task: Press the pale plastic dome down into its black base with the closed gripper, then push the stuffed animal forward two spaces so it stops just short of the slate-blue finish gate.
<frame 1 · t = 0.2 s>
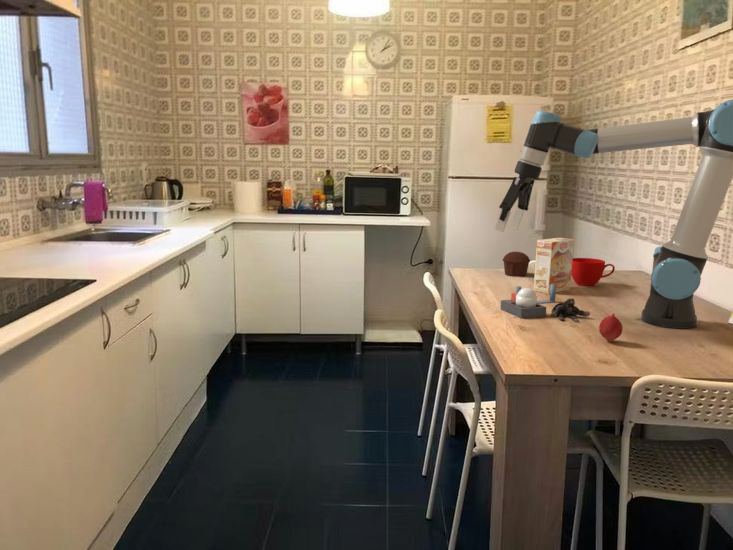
hand: (506, 229, 182), 27 cm above the table, tool tilted 15°, fingers open, 13 cm apart
onion: (609, 342, 157), on the table
ceramic cup: (590, 285, 233), on the table
muffin: (515, 275, 254), on the table
dome base: (522, 312, 187), on the table
coffeecake box: (551, 290, 223), on the table
stuffed animal: (569, 318, 184), on the table
dome: (526, 297, 185), point 5 cm above the table, slide at 0.0 cm
finish gate: (534, 302, 201), on the table
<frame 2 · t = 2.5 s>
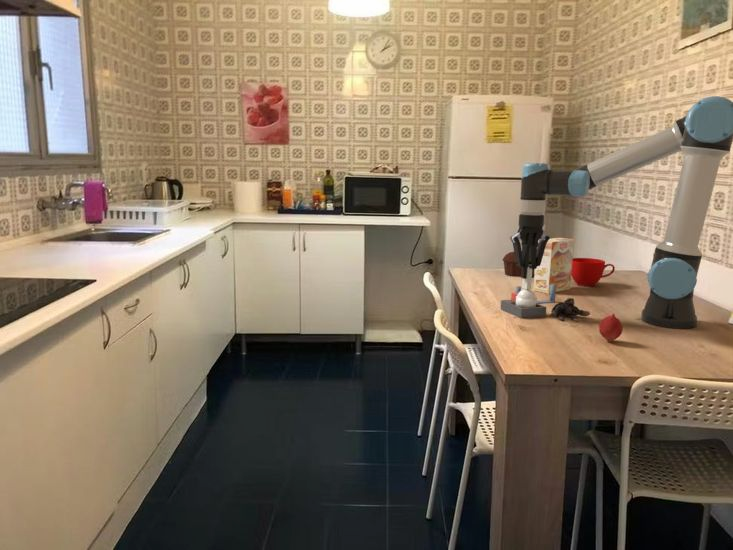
hand: (526, 288, 185), 8 cm above the table, tool pointing down, fingers closed
dome: (526, 298, 185), point 5 cm above the table, slide at 0.4 cm, touching gripper
everything else where it was.
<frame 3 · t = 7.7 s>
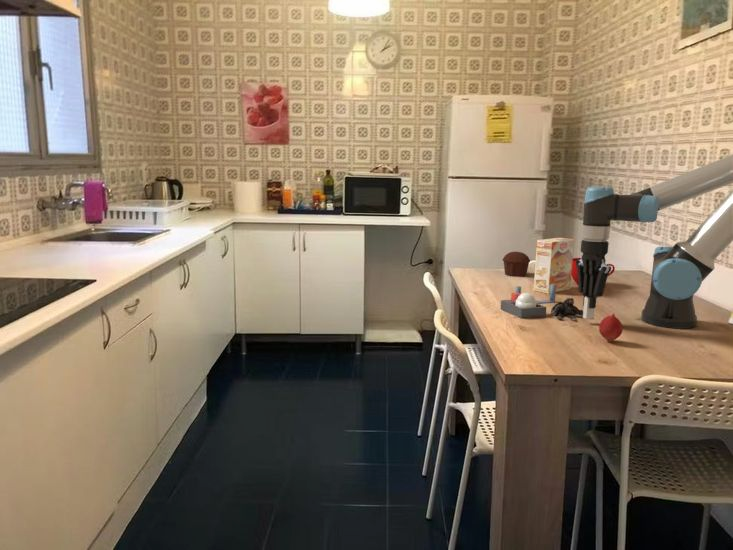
hand: (588, 317, 175), 2 cm above the table, tool pointing down, fingers closed
dome: (526, 302, 185), point 4 cm above the table, slide at 1.6 cm
everything else where it was.
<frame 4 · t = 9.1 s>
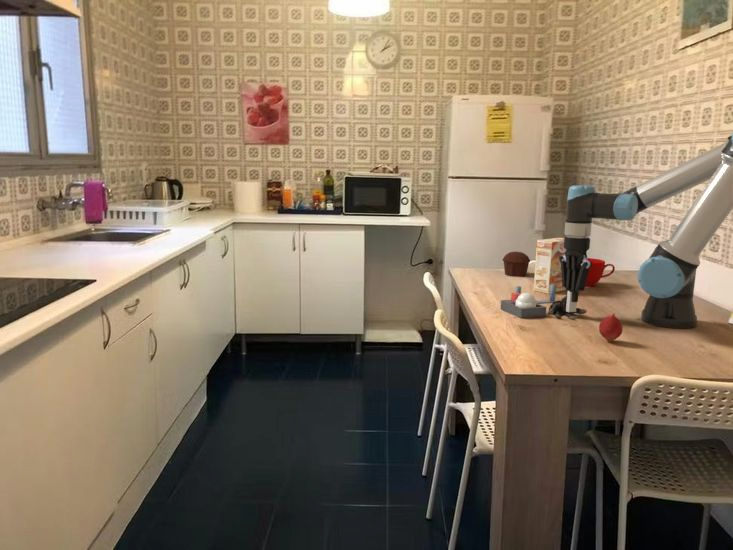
hand: (571, 311, 183), 2 cm above the table, tool pointing down, fingers closed
stuffed animal: (566, 316, 186), on the table
everything else where it was.
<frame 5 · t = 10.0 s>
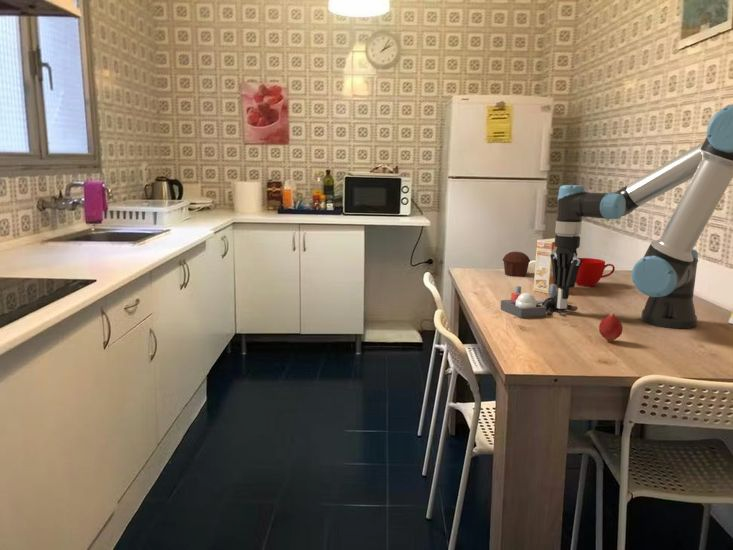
hand: (561, 307, 187), 2 cm above the table, tool pointing down, fingers closed
stuffed animal: (558, 312, 191), on the table, touching gripper
everything else where it was.
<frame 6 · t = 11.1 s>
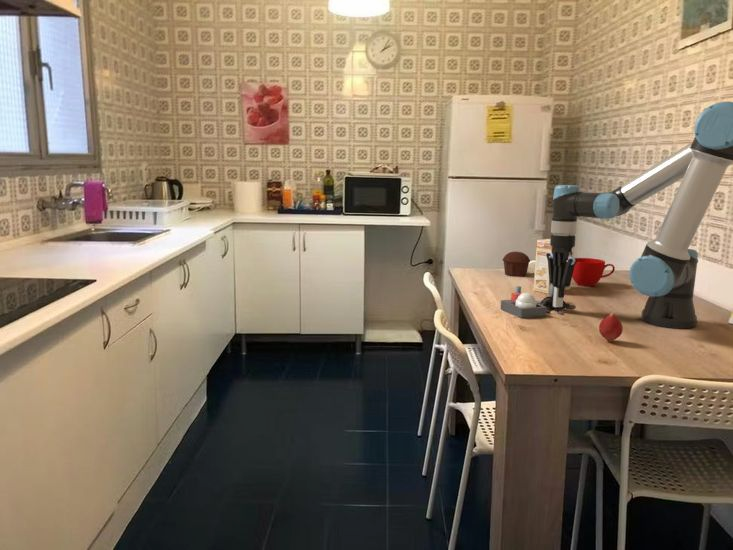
hand: (557, 306, 189), 2 cm above the table, tool pointing down, fingers closed
stuffed animal: (556, 311, 193), on the table
everything else where it was.
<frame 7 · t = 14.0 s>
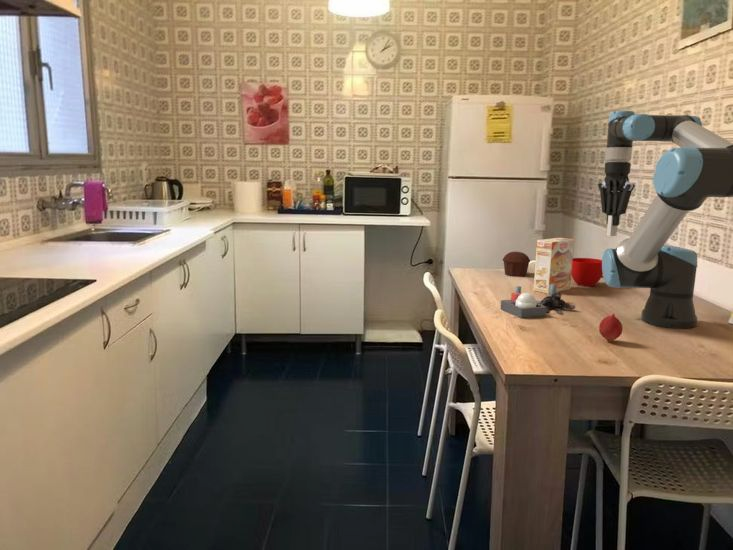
hand: (611, 235, 189), 25 cm above the table, tool pointing down, fingers closed
nothing on the table moved.
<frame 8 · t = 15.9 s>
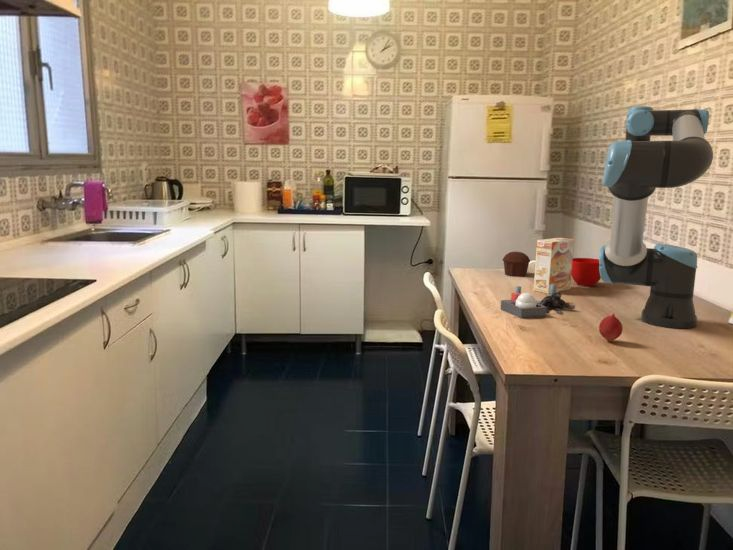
hand: (629, 228, 195), 26 cm above the table, tool pointing down, fingers closed
nothing on the table moved.
at the end: dome slide at 1.6 cm; stuffed animal inside the target area (2.4 cm from its centre), on the table; stuffed animal moved 9.7 cm from its start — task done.
